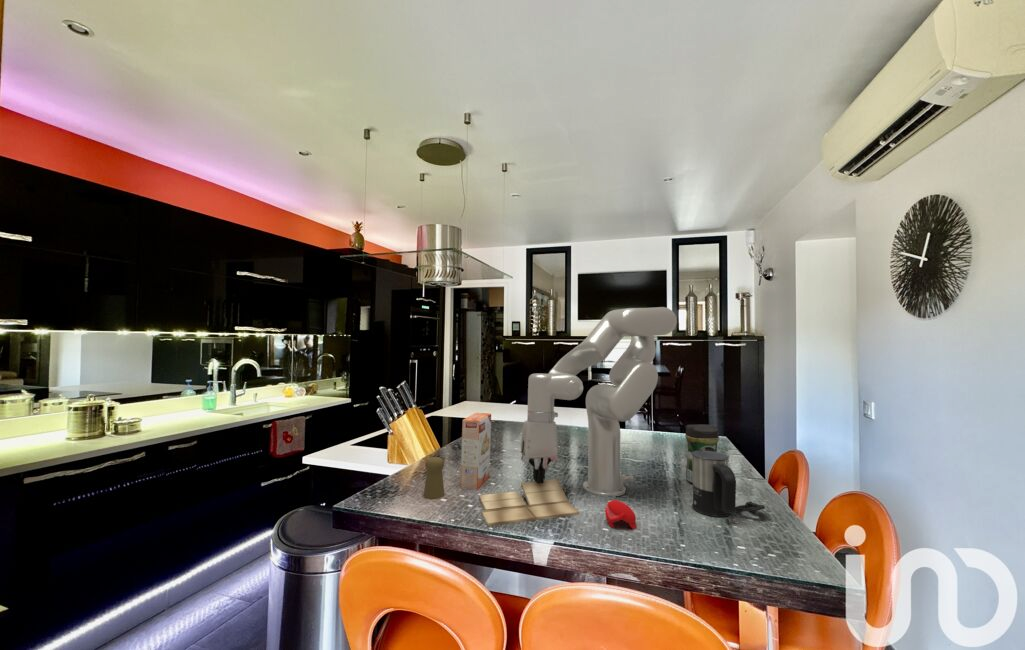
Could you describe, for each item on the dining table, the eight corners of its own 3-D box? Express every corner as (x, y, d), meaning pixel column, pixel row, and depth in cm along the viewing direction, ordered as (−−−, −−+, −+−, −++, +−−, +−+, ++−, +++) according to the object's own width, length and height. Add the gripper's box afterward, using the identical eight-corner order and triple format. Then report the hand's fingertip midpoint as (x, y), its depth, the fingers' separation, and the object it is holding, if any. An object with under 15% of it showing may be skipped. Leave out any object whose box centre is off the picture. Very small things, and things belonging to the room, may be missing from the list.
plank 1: (516, 495, 114) (517, 491, 114) (526, 509, 107) (526, 504, 106) (479, 499, 111) (479, 495, 111) (485, 513, 103) (486, 509, 103)
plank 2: (556, 482, 117) (557, 478, 117) (567, 503, 110) (568, 500, 110) (520, 485, 114) (521, 482, 114) (529, 508, 107) (530, 504, 107)
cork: (448, 495, 115) (449, 456, 116) (436, 502, 110) (437, 462, 110) (431, 491, 118) (432, 453, 118) (418, 499, 112) (419, 459, 113)
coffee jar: (710, 478, 133) (710, 422, 134) (723, 487, 125) (723, 427, 126) (681, 478, 133) (681, 422, 134) (693, 487, 125) (692, 427, 126)
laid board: (567, 505, 109) (567, 500, 109) (579, 516, 102) (579, 511, 102) (481, 515, 102) (481, 510, 102) (488, 528, 95) (488, 522, 95)
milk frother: (683, 506, 110) (683, 451, 111) (725, 498, 116) (724, 446, 117) (729, 528, 97) (728, 466, 98) (773, 518, 103) (772, 459, 104)
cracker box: (479, 492, 118) (480, 420, 119) (459, 490, 120) (460, 419, 120) (491, 476, 132) (492, 412, 133) (473, 475, 133) (474, 411, 134)
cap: (599, 516, 95) (620, 507, 93) (602, 499, 101) (622, 490, 98) (619, 542, 96) (641, 534, 93) (621, 524, 101) (642, 516, 98)
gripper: (559, 414, 121) (557, 476, 120) (511, 415, 117) (509, 479, 116) (569, 418, 114) (568, 484, 113) (519, 420, 109) (517, 488, 109)
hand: (538, 481), depth 114 cm, fingers closed
